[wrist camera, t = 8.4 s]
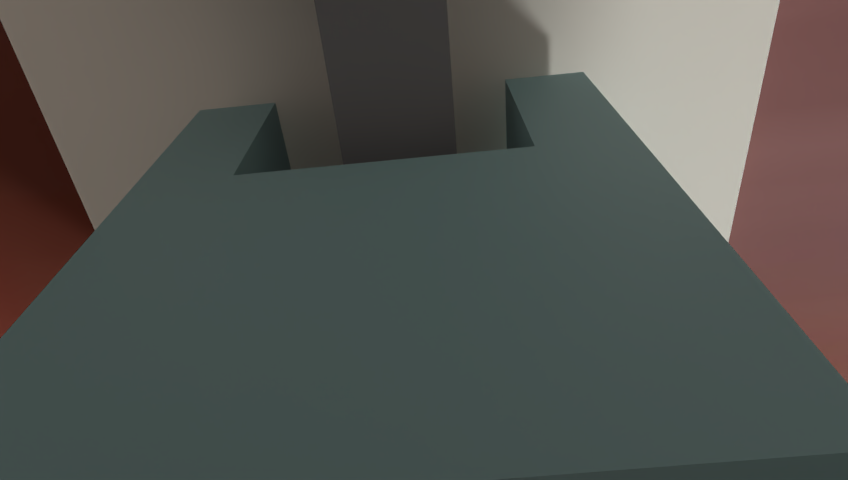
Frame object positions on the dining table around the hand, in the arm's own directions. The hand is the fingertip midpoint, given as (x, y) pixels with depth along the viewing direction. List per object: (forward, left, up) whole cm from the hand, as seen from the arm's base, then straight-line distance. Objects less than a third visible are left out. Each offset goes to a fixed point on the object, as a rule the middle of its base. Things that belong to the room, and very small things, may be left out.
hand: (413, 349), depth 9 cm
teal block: (0, 0, -2) cm, 2 cm away
